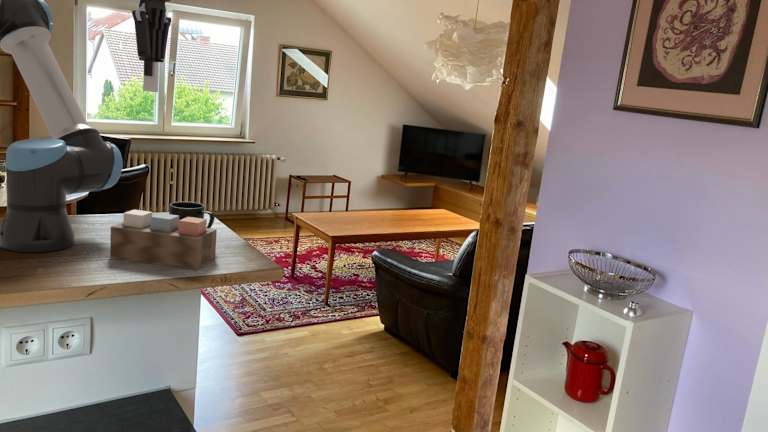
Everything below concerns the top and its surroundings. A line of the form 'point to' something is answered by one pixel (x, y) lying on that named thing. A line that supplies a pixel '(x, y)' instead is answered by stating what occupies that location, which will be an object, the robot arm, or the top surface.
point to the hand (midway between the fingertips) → (150, 91)
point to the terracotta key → (192, 226)
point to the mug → (190, 211)
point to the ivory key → (137, 218)
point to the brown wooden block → (162, 246)
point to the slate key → (165, 222)
